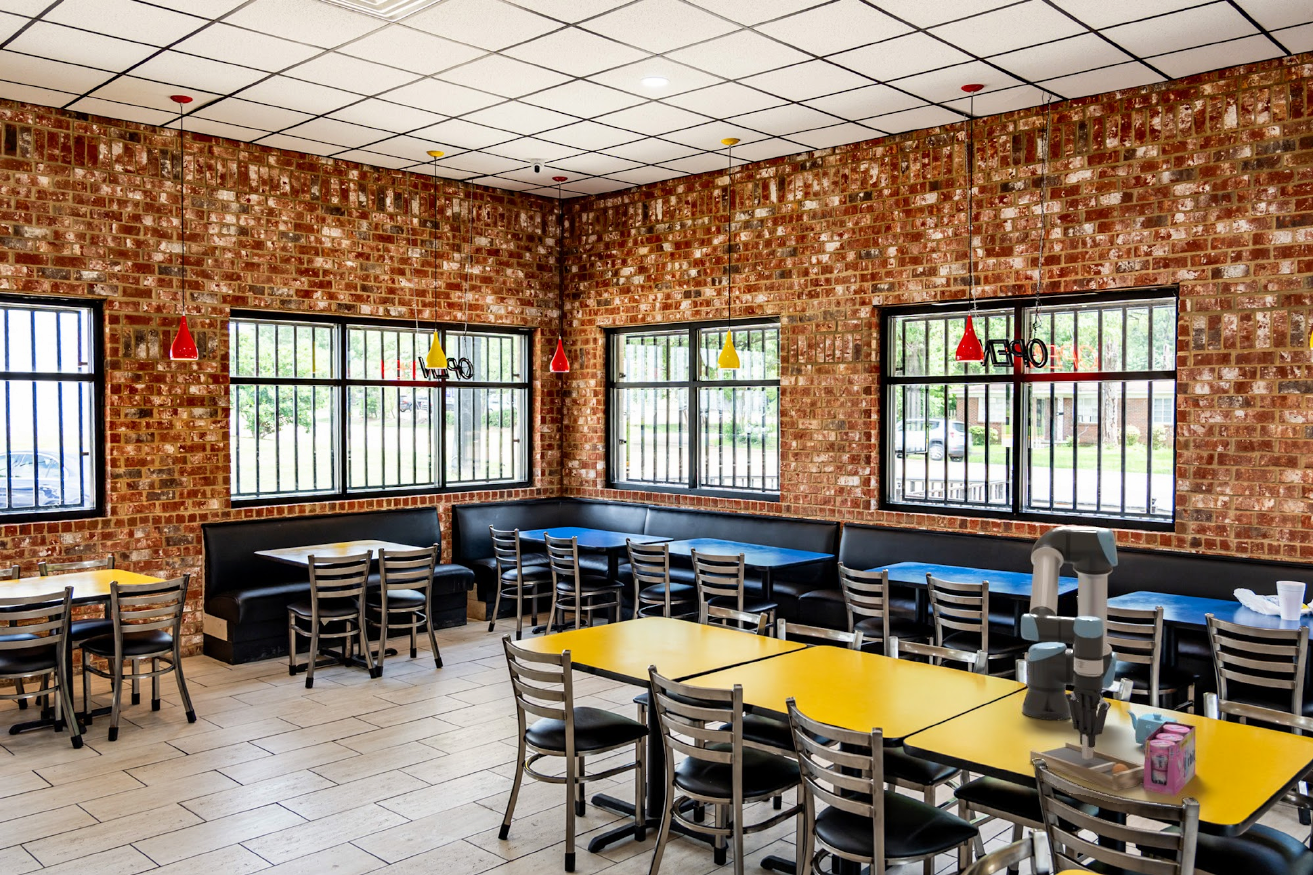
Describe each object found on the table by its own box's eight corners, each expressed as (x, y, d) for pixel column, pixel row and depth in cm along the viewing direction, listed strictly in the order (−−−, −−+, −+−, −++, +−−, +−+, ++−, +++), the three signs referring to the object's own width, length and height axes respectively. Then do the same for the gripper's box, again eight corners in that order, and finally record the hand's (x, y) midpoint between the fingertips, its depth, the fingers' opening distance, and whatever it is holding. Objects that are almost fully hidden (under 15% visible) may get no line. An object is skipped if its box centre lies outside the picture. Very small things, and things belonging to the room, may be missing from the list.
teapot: (1196, 750, 300) (1196, 715, 300) (1178, 760, 291) (1178, 725, 291) (1134, 736, 314) (1134, 703, 314) (1114, 745, 304) (1114, 712, 304)
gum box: (1174, 799, 262) (1174, 746, 262) (1141, 792, 267) (1141, 740, 267) (1196, 774, 280) (1196, 725, 280) (1164, 768, 285) (1165, 720, 285)
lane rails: (1068, 751, 298) (1068, 738, 298) (1154, 779, 275) (1155, 765, 275) (1030, 761, 290) (1030, 747, 290) (1116, 790, 266) (1116, 775, 266)
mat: (1065, 752, 298) (1065, 746, 298) (1147, 779, 275) (1147, 772, 275) (1033, 760, 290) (1033, 754, 290) (1115, 788, 268) (1115, 781, 268)
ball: (1131, 764, 274) (1132, 779, 274) (1119, 761, 277) (1120, 775, 277) (1120, 766, 272) (1122, 781, 272) (1108, 763, 276) (1109, 778, 276)
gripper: (1059, 669, 287) (1058, 753, 287) (1100, 679, 275) (1099, 766, 276) (1076, 666, 290) (1076, 749, 291) (1117, 676, 279) (1117, 762, 279)
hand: (1087, 757), depth 283 cm, fingers closed
